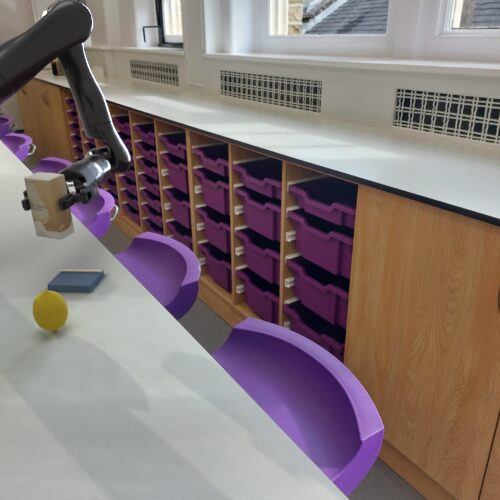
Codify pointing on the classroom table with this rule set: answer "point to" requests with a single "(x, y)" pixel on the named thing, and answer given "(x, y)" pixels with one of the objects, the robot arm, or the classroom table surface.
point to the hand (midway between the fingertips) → (43, 206)
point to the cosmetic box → (49, 205)
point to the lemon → (50, 310)
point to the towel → (76, 280)
